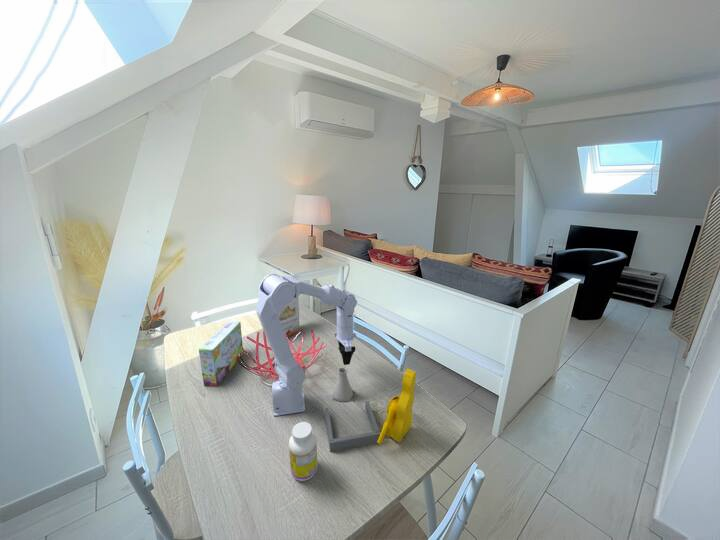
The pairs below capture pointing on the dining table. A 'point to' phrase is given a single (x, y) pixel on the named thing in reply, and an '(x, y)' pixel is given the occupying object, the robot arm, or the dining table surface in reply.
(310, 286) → the robot arm
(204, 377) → the snack box
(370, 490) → the dining table surface
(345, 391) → the flask
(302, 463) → the supplement bottle
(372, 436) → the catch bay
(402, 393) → the figure statuette
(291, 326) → the cracker box
